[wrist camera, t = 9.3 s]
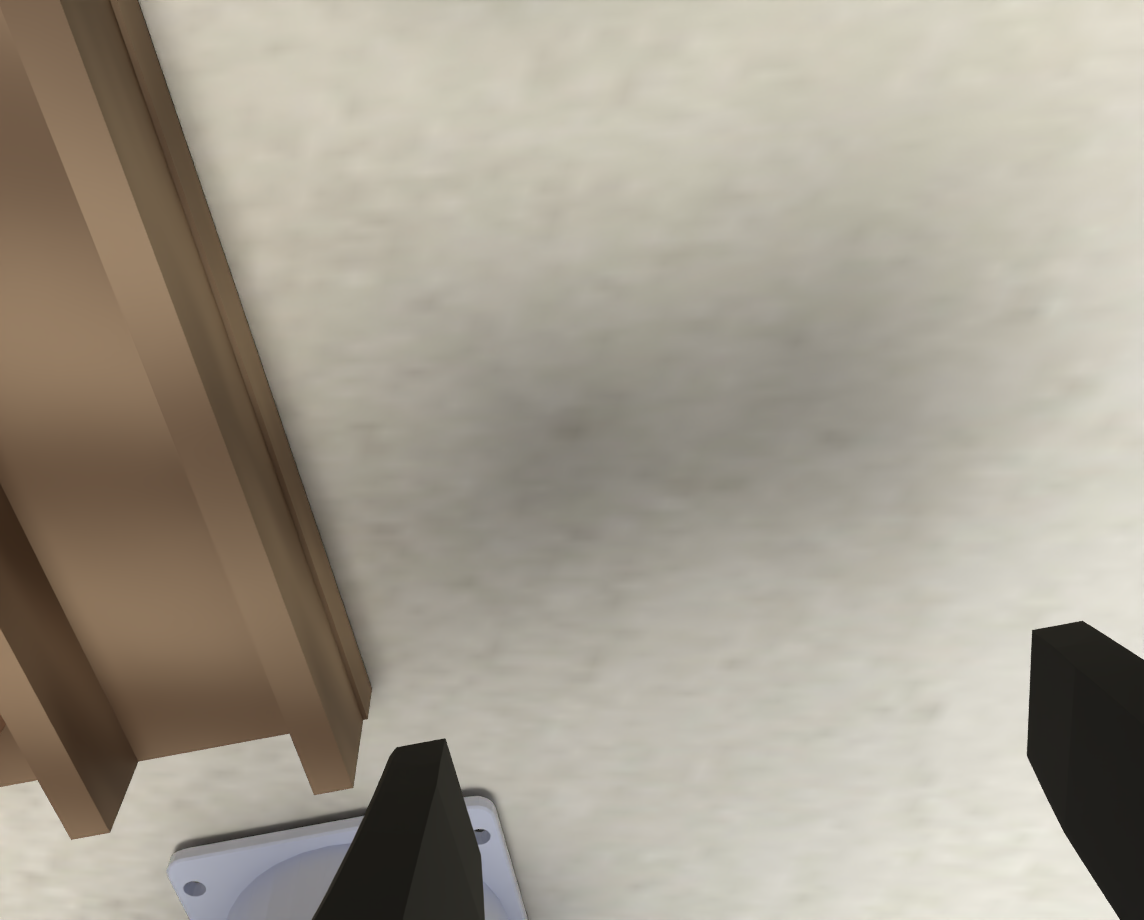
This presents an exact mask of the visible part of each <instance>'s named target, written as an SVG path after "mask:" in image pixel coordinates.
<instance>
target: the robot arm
mask: <svg viewBox="0 0 1144 920" xmlns="http://www.w3.org/2000/svg"><path fill="white" fill-rule="evenodd" d="M1027 757H1028V759H1029V761H1030V763H1031V765H1032V767H1033V770H1034V772H1035V774H1036V776H1037V778H1038V780H1039V782H1040V784H1041V787H1042V789H1043V791H1044V793H1045V795H1046V797H1047V799H1048V801H1049V803H1050V805H1051V807H1052V809H1053V811H1054V813H1055V815H1056V817H1057V819H1058V821H1059V823H1060V825H1061V827H1062V829H1063V831H1064V833H1065V835H1066V836H1067V838H1068V839H1069V841H1070V843H1071V844H1072V846H1073V847H1074V849H1075V851H1076V852H1077V854H1078V855H1079V857H1080V858H1081V860H1082V862H1083V863H1084V865H1085V866H1086V868H1087V869H1088V871H1089V872H1090V874H1091V876H1092V877H1093V879H1094V880H1095V882H1096V883H1097V885H1098V886H1099V888H1100V890H1101V891H1102V893H1103V894H1104V896H1105V897H1106V899H1107V900H1108V902H1109V903H1110V905H1111V906H1112V908H1113V910H1114V911H1115V913H1116V914H1117V916H1118V917H1119V919H1120V920H1144V660H1143V659H1141V658H1140V657H1138V656H1137V655H1135V654H1134V653H1132V652H1131V651H1129V650H1128V649H1126V648H1125V647H1123V646H1121V645H1120V644H1118V643H1117V642H1115V641H1114V640H1112V639H1111V638H1109V637H1107V636H1106V635H1104V634H1103V633H1101V632H1100V631H1098V630H1096V629H1095V628H1093V627H1092V626H1090V625H1088V624H1087V623H1085V622H1083V621H1079V622H1074V623H1069V624H1063V625H1058V626H1052V627H1047V628H1041V629H1036V630H1032V647H1031V671H1030V695H1029V719H1028V743H1027ZM476 829H484V830H485V831H483V832H475V831H474V830H476ZM167 876H168V878H169V880H170V882H171V884H172V886H173V888H174V890H175V892H176V894H177V896H178V898H179V900H180V902H181V904H182V906H183V908H184V909H185V911H186V913H187V915H188V917H189V919H190V920H528V918H527V915H526V911H525V908H524V904H523V901H522V897H521V894H520V890H519V887H518V883H517V880H516V876H515V873H514V870H513V866H512V863H511V859H510V856H509V852H508V849H507V845H506V842H505V838H504V835H503V831H502V828H501V824H500V821H499V818H498V814H497V811H496V807H495V806H494V804H493V802H492V801H490V800H489V799H487V798H485V797H481V796H469V797H464V798H463V794H462V791H461V788H460V785H459V781H458V778H457V775H456V771H455V768H454V765H453V762H452V758H451V755H450V752H449V749H448V745H447V742H446V739H439V740H434V741H429V742H423V743H418V744H412V745H407V746H401V747H396V749H395V750H394V751H393V753H392V754H391V755H390V757H389V759H388V761H387V764H386V766H385V769H384V771H383V774H382V776H381V778H380V781H379V783H378V786H377V788H376V790H375V793H374V795H373V797H372V799H371V802H370V804H369V806H368V808H367V811H366V813H365V815H364V816H360V817H355V818H349V819H344V820H338V821H333V822H327V823H322V824H316V825H311V826H306V827H300V828H295V829H289V830H284V831H278V832H273V833H267V834H262V835H256V836H251V837H246V838H240V839H235V840H229V841H224V842H218V843H213V844H207V845H202V846H197V847H191V848H186V849H182V850H179V851H177V852H175V853H174V854H173V855H172V856H171V859H170V862H169V865H168V868H167ZM193 881H197V882H200V883H195V882H193Z"/></svg>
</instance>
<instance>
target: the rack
mask: <svg viewBox="0 0 1144 920" xmlns="http://www.w3.org/2000/svg"><path fill="white" fill-rule="evenodd" d="M371 692H372V688H371V685H370V682H369V679H368V676H367V673H366V670H365V667H364V664H363V661H362V658H361V655H360V652H359V649H358V646H357V643H356V640H355V638H354V635H353V632H352V629H351V626H350V623H349V620H348V617H347V614H346V611H345V608H344V605H343V602H342V599H341V596H340V593H339V591H338V588H337V585H336V582H335V579H334V576H333V573H332V570H331V567H330V564H329V561H328V558H327V555H326V552H325V549H324V546H323V544H322V541H321V538H320V535H319V532H318V529H317V526H316V523H315V520H314V517H313V514H312V511H311V508H310V505H309V502H308V499H307V497H306V494H305V491H304V488H303V485H302V482H301V479H300V476H299V473H298V470H297V467H296V464H295V461H294V458H293V455H292V452H291V449H290V447H289V444H288V441H287V438H286V435H285V432H284V429H283V426H282V423H281V420H280V417H279V414H278V411H277V408H276V405H275V402H274V400H273V397H272V394H271V391H270V388H269V385H268V382H267V379H266V376H265V373H264V370H263V367H262V364H261V361H260V358H259V355H258V353H257V350H256V347H255V344H254V341H253V338H252V335H251V332H250V329H249V326H248V323H247V320H246V317H245V314H244V311H243V308H242V306H241V303H240V300H239V297H238V294H237V291H236V288H235V285H234V282H233V279H232V276H231V273H230V270H229V267H228V264H227V261H226V258H225V256H224V253H223V250H222V247H221V244H220V241H219V238H218V235H217V232H216V229H215V226H214V223H213V220H212V217H211V214H210V211H209V209H208V206H207V203H206V200H205V197H204V194H203V191H202V188H201V185H200V182H199V179H198V176H197V173H196V170H195V167H194V164H193V162H192V159H191V156H190V153H189V150H188V147H187V144H186V141H185V138H184V135H183V132H182V129H181V126H180V123H179V120H178V117H177V115H176V112H175V109H174V106H173V103H172V100H171V97H170V94H169V91H168V88H167V85H166V82H165V79H164V76H163V73H162V70H161V67H160V65H159V62H158V59H157V56H156V53H155V50H154V47H153V44H152V41H151V38H150V35H149V32H148V29H147V26H146V23H145V20H144V18H143V15H142V12H141V9H140V6H139V3H138V0H0V714H1V716H2V718H3V720H4V721H5V723H6V725H5V727H4V728H3V730H2V732H1V734H0V787H3V786H8V785H13V784H19V783H24V782H30V781H35V780H38V782H39V783H40V785H41V787H42V789H43V791H44V792H45V794H46V796H47V798H48V799H49V801H50V803H51V805H52V807H53V808H54V810H55V812H56V814H57V815H58V817H59V819H60V821H61V822H62V824H63V826H64V828H65V830H66V831H67V833H68V835H69V837H70V838H71V840H72V839H78V838H83V837H89V836H94V835H100V834H105V833H110V831H111V829H112V826H113V824H114V821H115V819H116V816H117V814H118V811H119V809H120V806H121V804H122V801H123V799H124V796H125V794H126V791H127V789H128V786H129V784H130V781H131V779H132V776H133V774H134V771H135V769H136V766H137V763H138V761H143V760H149V759H154V758H159V757H165V756H170V755H176V754H181V753H187V752H192V751H197V750H203V749H208V748H214V747H219V746H224V745H230V744H235V743H241V742H246V741H251V740H257V739H262V738H268V737H273V736H278V735H284V734H289V733H290V736H291V738H292V741H293V743H294V746H295V748H296V751H297V753H298V756H299V758H300V761H301V763H302V766H303V768H304V771H305V773H306V776H307V778H308V781H309V783H310V786H311V788H312V791H313V793H314V795H317V794H323V793H328V792H334V791H339V790H344V789H350V788H353V786H354V779H355V772H356V765H357V759H358V752H359V745H360V738H361V731H362V724H363V720H365V719H368V713H369V706H370V699H371Z"/></svg>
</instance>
